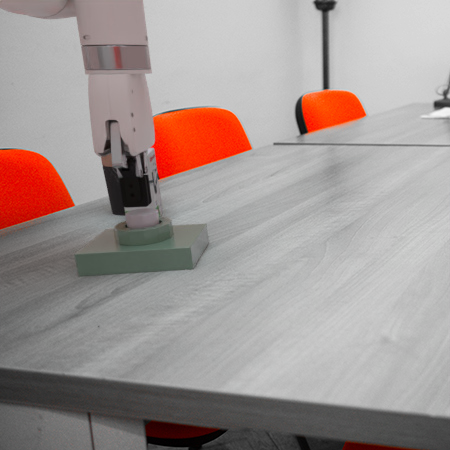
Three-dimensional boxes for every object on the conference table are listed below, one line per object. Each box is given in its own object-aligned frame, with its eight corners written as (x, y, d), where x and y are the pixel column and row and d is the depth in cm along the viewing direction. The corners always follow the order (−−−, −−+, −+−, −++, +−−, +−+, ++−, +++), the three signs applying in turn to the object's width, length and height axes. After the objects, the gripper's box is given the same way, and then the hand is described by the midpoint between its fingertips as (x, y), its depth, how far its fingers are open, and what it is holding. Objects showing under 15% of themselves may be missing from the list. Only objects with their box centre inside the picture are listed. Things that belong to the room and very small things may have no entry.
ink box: (159, 225, 94) (148, 153, 90) (126, 228, 92) (114, 155, 89) (164, 212, 102) (154, 145, 98) (134, 214, 100) (123, 147, 97)
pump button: (123, 231, 74) (120, 216, 74) (132, 223, 78) (130, 208, 78) (155, 229, 75) (153, 214, 74) (163, 221, 79) (161, 207, 78)
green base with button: (78, 276, 72) (70, 239, 70) (108, 248, 82) (103, 215, 81) (193, 269, 74) (188, 232, 72) (209, 242, 84) (205, 210, 83)
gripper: (107, 61, 77) (126, 194, 82) (59, 62, 63) (85, 222, 68) (164, 61, 78) (180, 192, 83) (130, 62, 64) (151, 219, 69)
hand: (137, 205), depth 76 cm, fingers closed
